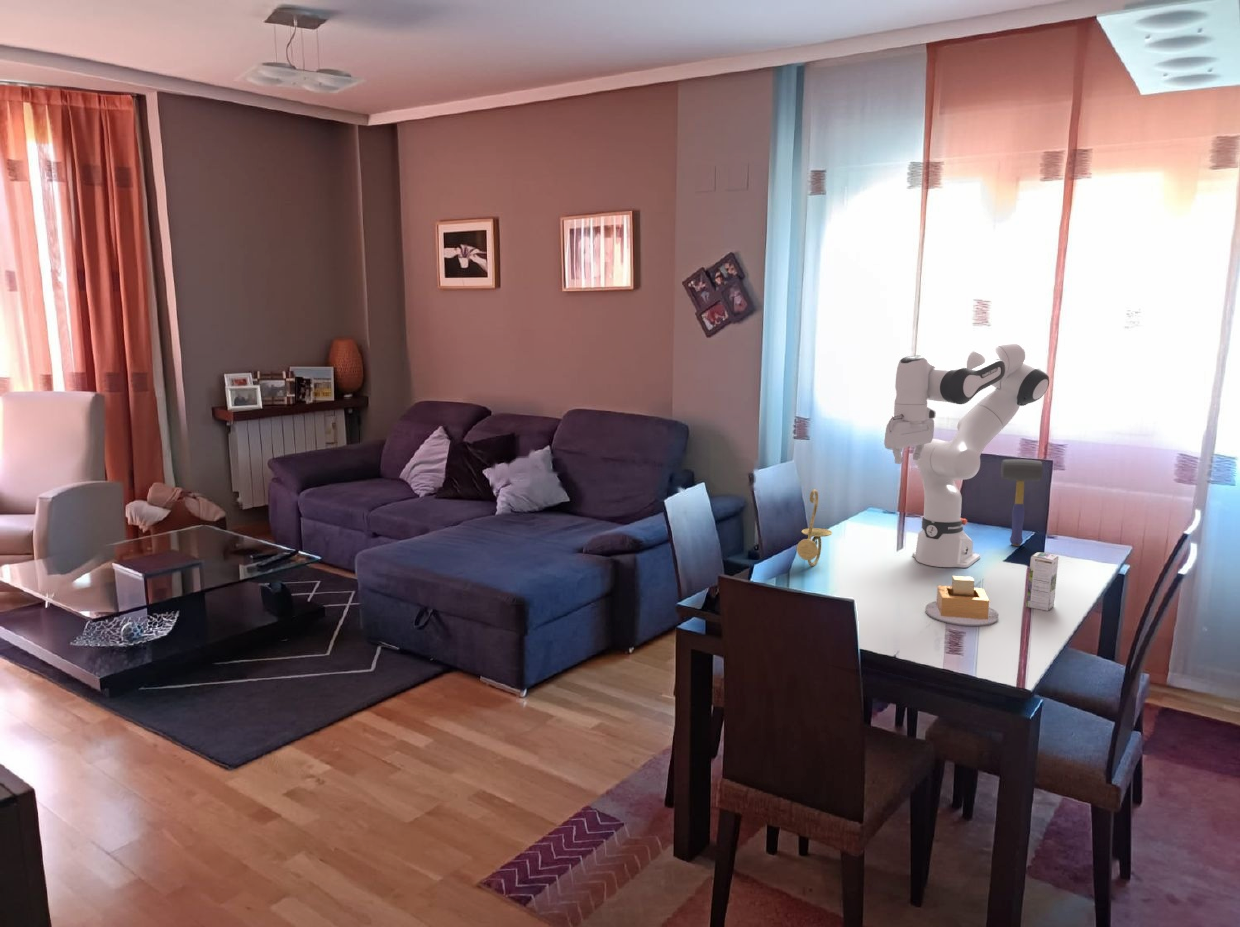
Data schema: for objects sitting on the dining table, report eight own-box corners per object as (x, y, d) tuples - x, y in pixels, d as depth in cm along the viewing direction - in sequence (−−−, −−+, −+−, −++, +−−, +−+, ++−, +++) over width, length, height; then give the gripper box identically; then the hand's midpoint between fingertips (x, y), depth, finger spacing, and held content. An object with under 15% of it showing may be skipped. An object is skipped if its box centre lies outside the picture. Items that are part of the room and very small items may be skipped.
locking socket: (922, 601, 245) (923, 580, 243) (991, 606, 240) (993, 585, 239) (929, 623, 227) (930, 601, 226) (1003, 629, 223) (1005, 606, 222)
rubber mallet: (1033, 543, 304) (1040, 458, 299) (1037, 549, 297) (1044, 461, 292) (995, 541, 308) (1000, 456, 303) (997, 546, 301) (1004, 460, 296)
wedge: (950, 608, 236) (952, 575, 234) (969, 609, 235) (972, 576, 233) (952, 612, 232) (954, 579, 231) (972, 613, 231) (974, 580, 230)
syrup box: (1031, 601, 244) (1035, 551, 241) (1054, 606, 240) (1059, 554, 238) (1025, 607, 239) (1029, 555, 237) (1049, 611, 236) (1053, 559, 233)
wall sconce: (821, 573, 271) (824, 494, 267) (791, 569, 276) (794, 491, 271) (834, 562, 283) (837, 486, 278) (806, 558, 288) (808, 483, 283)
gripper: (900, 417, 240) (897, 467, 243) (939, 411, 254) (936, 459, 256) (879, 415, 245) (877, 464, 247) (919, 409, 258) (916, 456, 261)
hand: (907, 461), depth 252 cm, fingers open, 8 cm apart
